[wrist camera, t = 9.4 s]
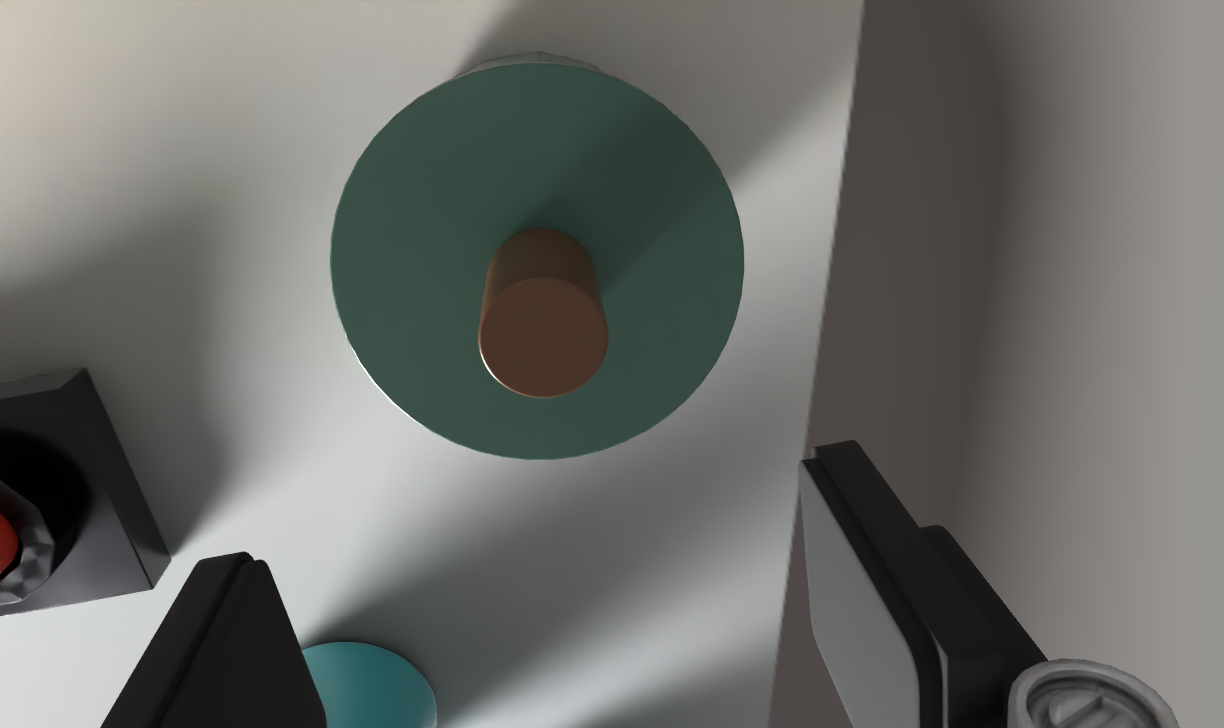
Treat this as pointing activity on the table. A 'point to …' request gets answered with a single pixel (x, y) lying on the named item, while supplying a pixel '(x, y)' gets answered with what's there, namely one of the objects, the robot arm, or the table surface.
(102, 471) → the button block
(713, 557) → the table surface
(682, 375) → the tin lid
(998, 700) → the robot arm
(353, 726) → the cup
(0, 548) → the button
